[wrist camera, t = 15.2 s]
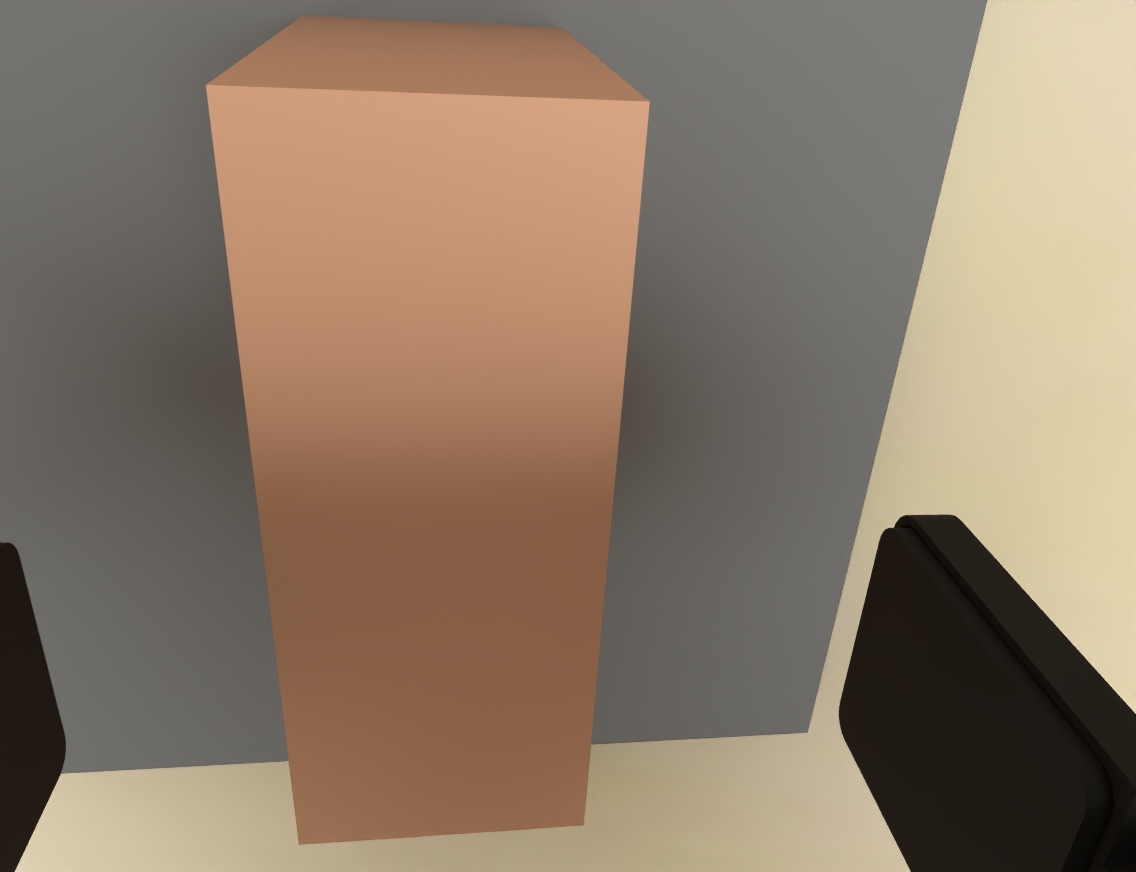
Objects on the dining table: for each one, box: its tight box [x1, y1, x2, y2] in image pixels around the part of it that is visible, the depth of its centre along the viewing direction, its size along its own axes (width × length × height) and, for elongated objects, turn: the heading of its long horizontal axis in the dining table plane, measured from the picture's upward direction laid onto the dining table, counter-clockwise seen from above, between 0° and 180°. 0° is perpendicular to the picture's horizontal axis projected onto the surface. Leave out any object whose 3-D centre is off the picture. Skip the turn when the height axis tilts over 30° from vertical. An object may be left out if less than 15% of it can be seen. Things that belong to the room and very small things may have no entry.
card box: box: [206, 15, 650, 845], centre depth 14 cm, size 4×10×7 cm, turn 177°
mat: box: [0, 0, 987, 773], centre depth 17 cm, size 22×18×1 cm
